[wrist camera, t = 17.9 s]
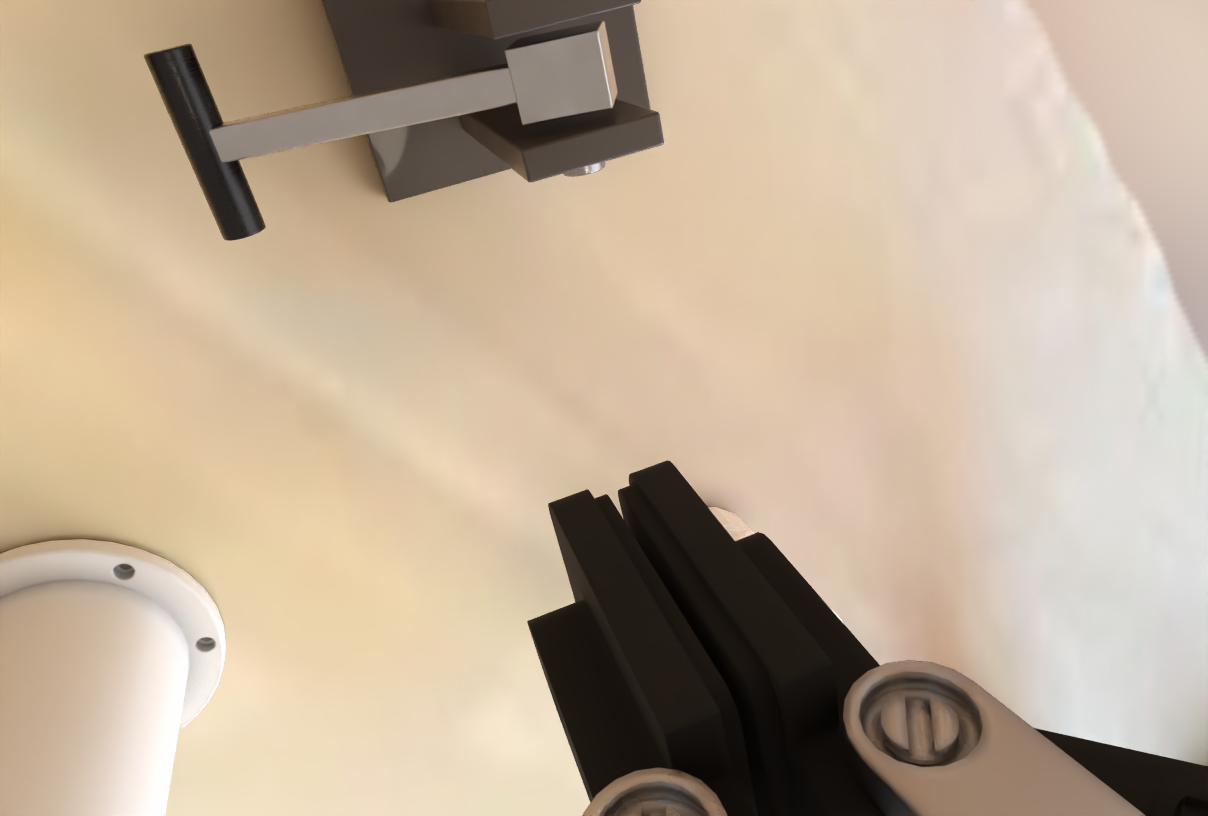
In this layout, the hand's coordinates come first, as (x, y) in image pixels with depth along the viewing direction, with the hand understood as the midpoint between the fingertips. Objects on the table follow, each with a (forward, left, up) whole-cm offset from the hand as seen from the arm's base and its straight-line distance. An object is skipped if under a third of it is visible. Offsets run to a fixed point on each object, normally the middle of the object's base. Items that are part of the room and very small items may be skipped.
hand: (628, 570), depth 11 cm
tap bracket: (+4, +5, -29) cm, 30 cm away
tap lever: (-1, +4, -21) cm, 22 cm away
